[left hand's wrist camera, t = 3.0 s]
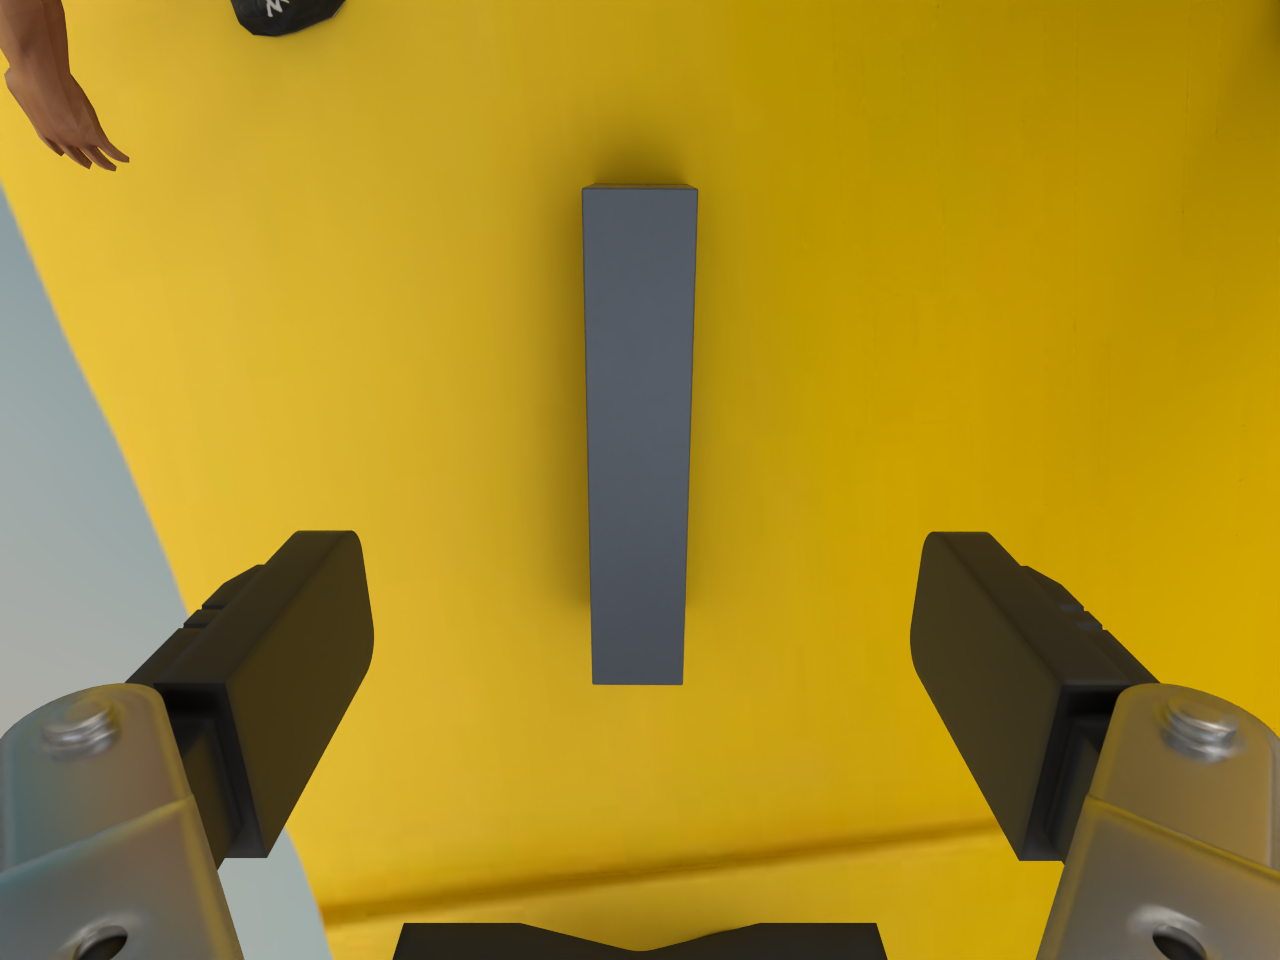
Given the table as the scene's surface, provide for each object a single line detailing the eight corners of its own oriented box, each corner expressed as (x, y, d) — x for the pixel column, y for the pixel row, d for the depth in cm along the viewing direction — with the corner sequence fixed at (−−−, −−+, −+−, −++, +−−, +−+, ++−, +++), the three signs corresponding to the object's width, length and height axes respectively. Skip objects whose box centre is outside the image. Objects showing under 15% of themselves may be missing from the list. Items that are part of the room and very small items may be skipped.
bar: (592, 183, 44) (581, 187, 36) (688, 184, 44) (698, 188, 36) (599, 611, 54) (592, 685, 47) (677, 612, 54) (682, 685, 47)
